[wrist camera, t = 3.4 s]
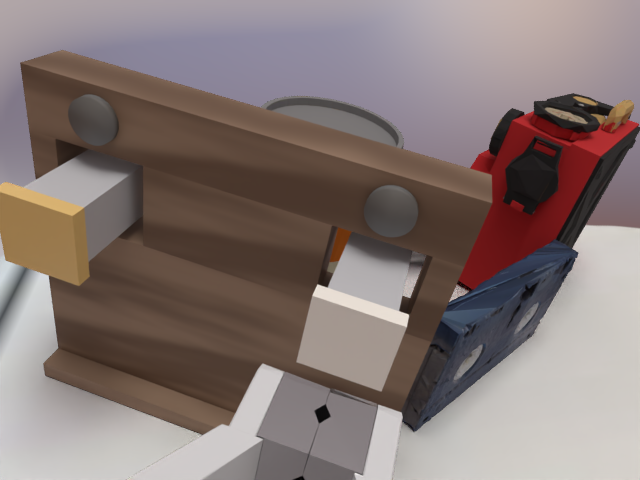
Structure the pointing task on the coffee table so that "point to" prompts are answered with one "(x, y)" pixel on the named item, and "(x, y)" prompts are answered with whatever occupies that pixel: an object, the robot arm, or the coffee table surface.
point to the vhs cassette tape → (486, 329)
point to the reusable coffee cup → (343, 120)
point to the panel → (231, 239)
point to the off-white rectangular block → (358, 314)
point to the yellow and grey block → (70, 214)
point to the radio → (546, 177)
